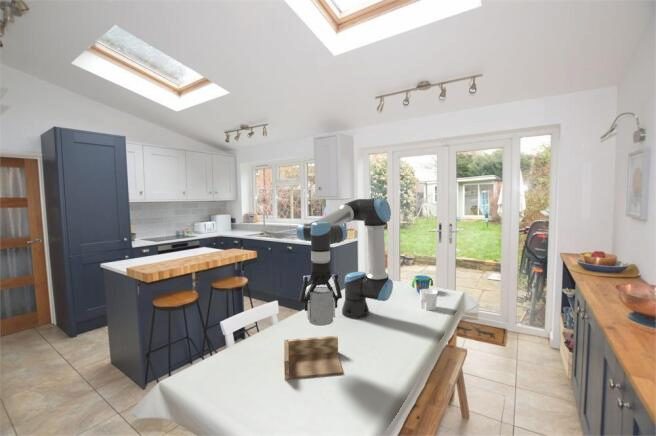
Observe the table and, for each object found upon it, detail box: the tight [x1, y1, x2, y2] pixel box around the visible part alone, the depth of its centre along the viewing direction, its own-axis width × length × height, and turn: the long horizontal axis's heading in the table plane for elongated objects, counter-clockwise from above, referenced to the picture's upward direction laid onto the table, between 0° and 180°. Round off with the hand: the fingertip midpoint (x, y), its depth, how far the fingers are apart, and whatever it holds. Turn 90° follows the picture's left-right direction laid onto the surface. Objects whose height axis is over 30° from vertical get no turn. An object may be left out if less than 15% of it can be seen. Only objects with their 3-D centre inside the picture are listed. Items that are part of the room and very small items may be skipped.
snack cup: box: [411, 274, 434, 293], centre depth 211 cm, size 16×10×10 cm
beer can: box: [308, 286, 334, 327], centre depth 122 cm, size 10×10×12 cm
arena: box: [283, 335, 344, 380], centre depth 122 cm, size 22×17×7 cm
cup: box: [419, 288, 438, 311], centre depth 181 cm, size 10×10×10 cm
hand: (320, 317), depth 122 cm, fingers closed on beer can, 9 cm apart
